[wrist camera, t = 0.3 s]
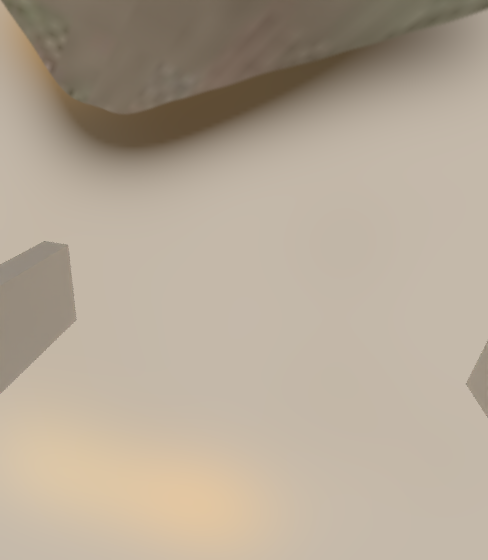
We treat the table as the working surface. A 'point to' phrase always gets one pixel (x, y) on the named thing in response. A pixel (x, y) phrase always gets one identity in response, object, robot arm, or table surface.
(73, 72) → the table surface
